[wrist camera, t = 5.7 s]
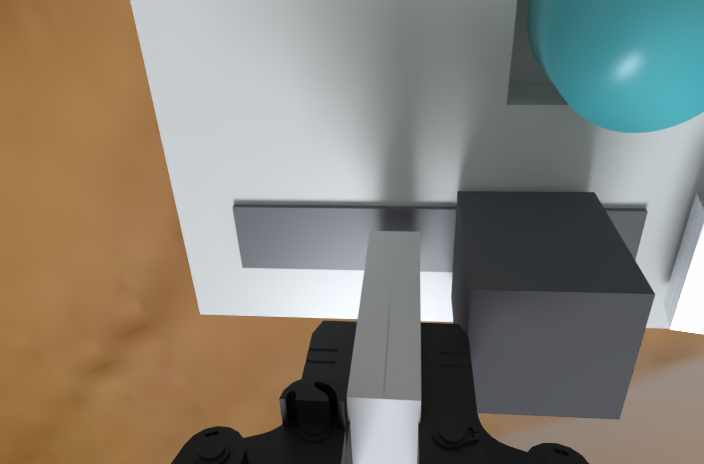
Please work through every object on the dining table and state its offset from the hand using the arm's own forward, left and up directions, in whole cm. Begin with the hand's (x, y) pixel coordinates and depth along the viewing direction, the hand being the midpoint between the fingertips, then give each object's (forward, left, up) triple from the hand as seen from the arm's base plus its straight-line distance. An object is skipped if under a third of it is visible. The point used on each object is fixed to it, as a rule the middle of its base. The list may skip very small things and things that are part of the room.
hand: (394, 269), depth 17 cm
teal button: (+6, +7, -2) cm, 9 cm away
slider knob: (+4, 0, -1) cm, 4 cm away
